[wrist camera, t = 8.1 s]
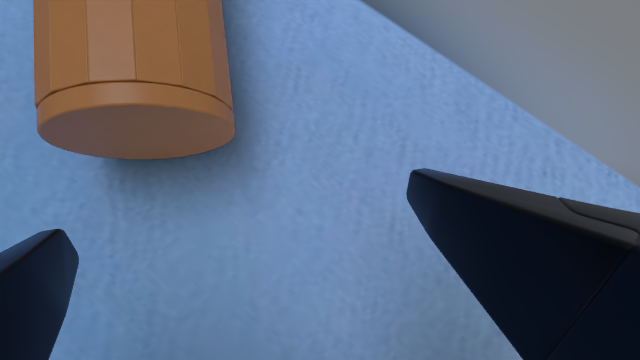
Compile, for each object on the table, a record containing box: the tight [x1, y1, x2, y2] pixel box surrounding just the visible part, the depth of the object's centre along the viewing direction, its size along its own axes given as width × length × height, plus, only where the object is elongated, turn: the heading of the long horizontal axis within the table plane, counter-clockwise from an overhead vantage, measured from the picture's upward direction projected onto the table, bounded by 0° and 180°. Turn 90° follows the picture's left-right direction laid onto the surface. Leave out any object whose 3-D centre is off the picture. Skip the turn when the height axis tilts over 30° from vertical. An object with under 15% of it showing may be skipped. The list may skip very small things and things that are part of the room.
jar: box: [33, 0, 235, 159], centre depth 14 cm, size 7×7×11 cm
